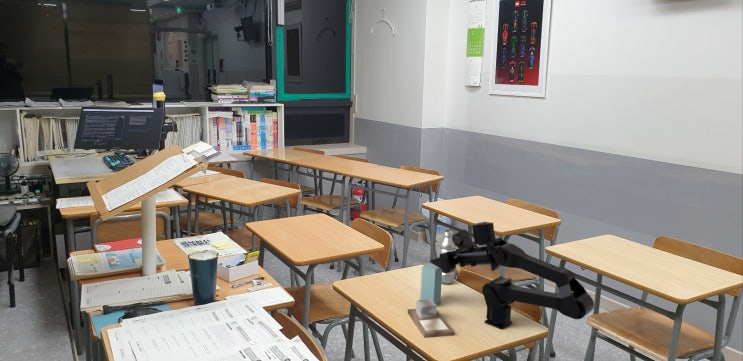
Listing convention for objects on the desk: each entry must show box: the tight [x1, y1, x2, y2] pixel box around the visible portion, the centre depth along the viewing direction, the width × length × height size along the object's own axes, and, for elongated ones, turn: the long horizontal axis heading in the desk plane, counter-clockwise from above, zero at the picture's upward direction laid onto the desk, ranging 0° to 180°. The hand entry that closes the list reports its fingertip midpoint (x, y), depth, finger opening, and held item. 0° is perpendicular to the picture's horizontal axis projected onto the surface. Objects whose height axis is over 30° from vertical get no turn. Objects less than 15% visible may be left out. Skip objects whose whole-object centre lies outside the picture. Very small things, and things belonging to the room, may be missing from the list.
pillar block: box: [419, 262, 443, 306], centre depth 178 cm, size 5×5×13 cm
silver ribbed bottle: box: [438, 229, 458, 285], centre depth 196 cm, size 6×7×20 cm
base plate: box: [407, 299, 454, 338], centre depth 163 cm, size 9×17×5 cm, turn 13°
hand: (438, 258), depth 178 cm, fingers open, 9 cm apart
